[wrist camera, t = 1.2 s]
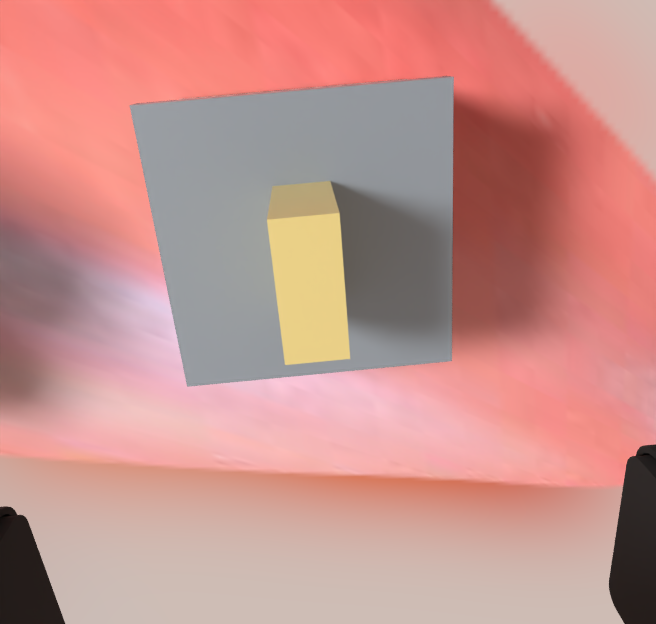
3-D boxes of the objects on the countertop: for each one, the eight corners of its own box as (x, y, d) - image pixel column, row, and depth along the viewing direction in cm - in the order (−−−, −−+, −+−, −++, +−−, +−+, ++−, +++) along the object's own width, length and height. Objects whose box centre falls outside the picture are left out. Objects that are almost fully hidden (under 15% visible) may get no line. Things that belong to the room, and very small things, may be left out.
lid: (143, 101, 23) (83, 118, 16) (440, 75, 23) (498, 82, 16) (194, 364, 27) (163, 458, 21) (441, 340, 27) (486, 426, 21)
